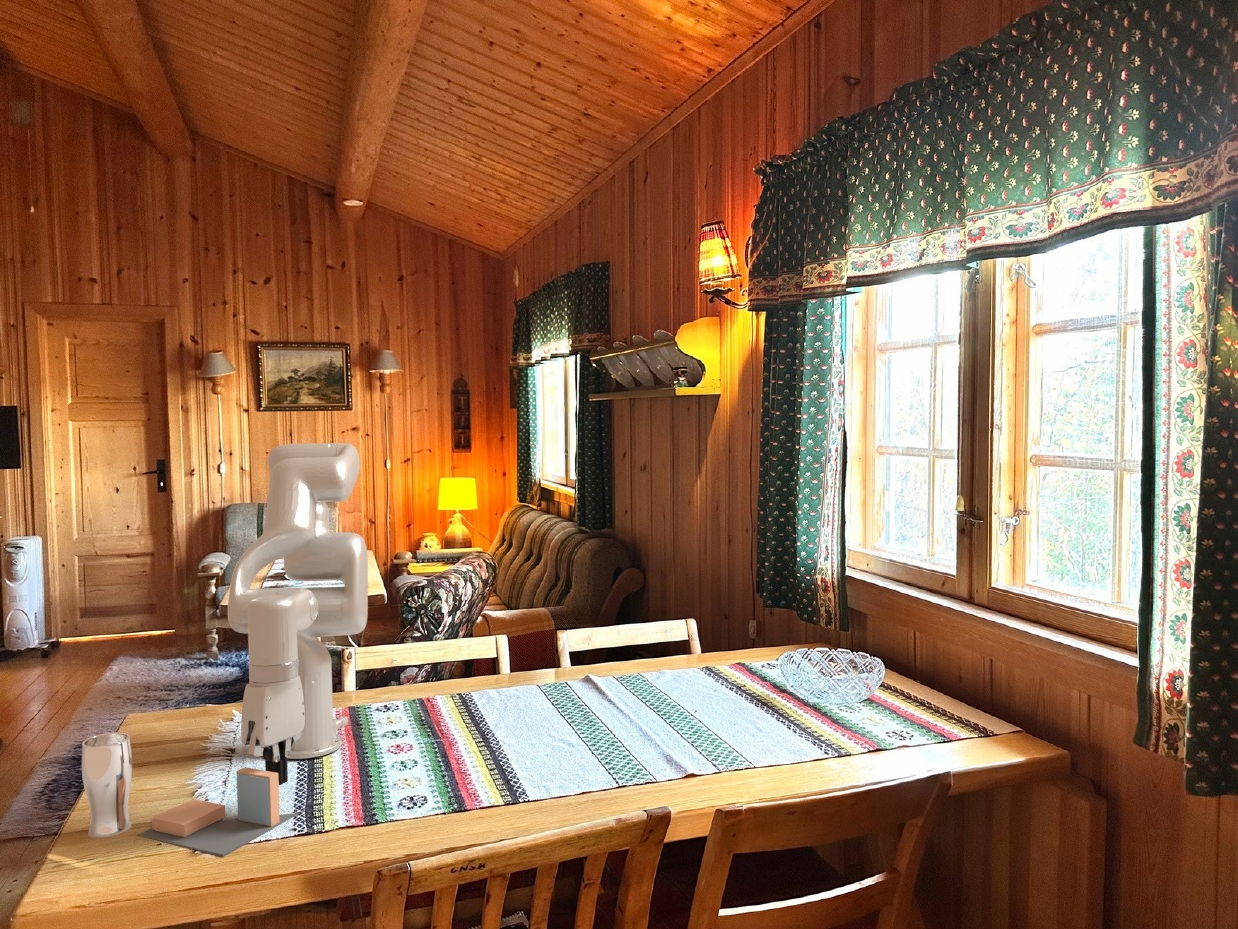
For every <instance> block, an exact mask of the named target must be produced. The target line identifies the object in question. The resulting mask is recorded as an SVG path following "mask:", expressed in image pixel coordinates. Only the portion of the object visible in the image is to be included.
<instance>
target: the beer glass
mask: <svg viewBox="0 0 1238 929" xmlns="http://www.w3.org/2000/svg"><path fill="white" fill-rule="evenodd" d="M81 746H82V748H81V775H82V777H81V778H82V783H83V787H84V788H83V789H84V792H85V796H86V800H87V803H88V808H89V818H90V819H89V825H88V832H87V836H88V837H90V838H108V837H114V836H117V835H120V834H122V833H124V832H126V831H128V830H130V828H131V827H132V822H131V817H130V813H129V799H130V798H129V797H130V791H131V783H132V778H133V777H132V776H133V775H132V774H133V756H132V755H133V753H132V746H131V739H130V734H128V733H125V732H118V731H117V732H106V733H102V734H97V735H93V736H91V737H88V738H86V739H85V740H84V741H83V742H82V744H81Z"/></svg>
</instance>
